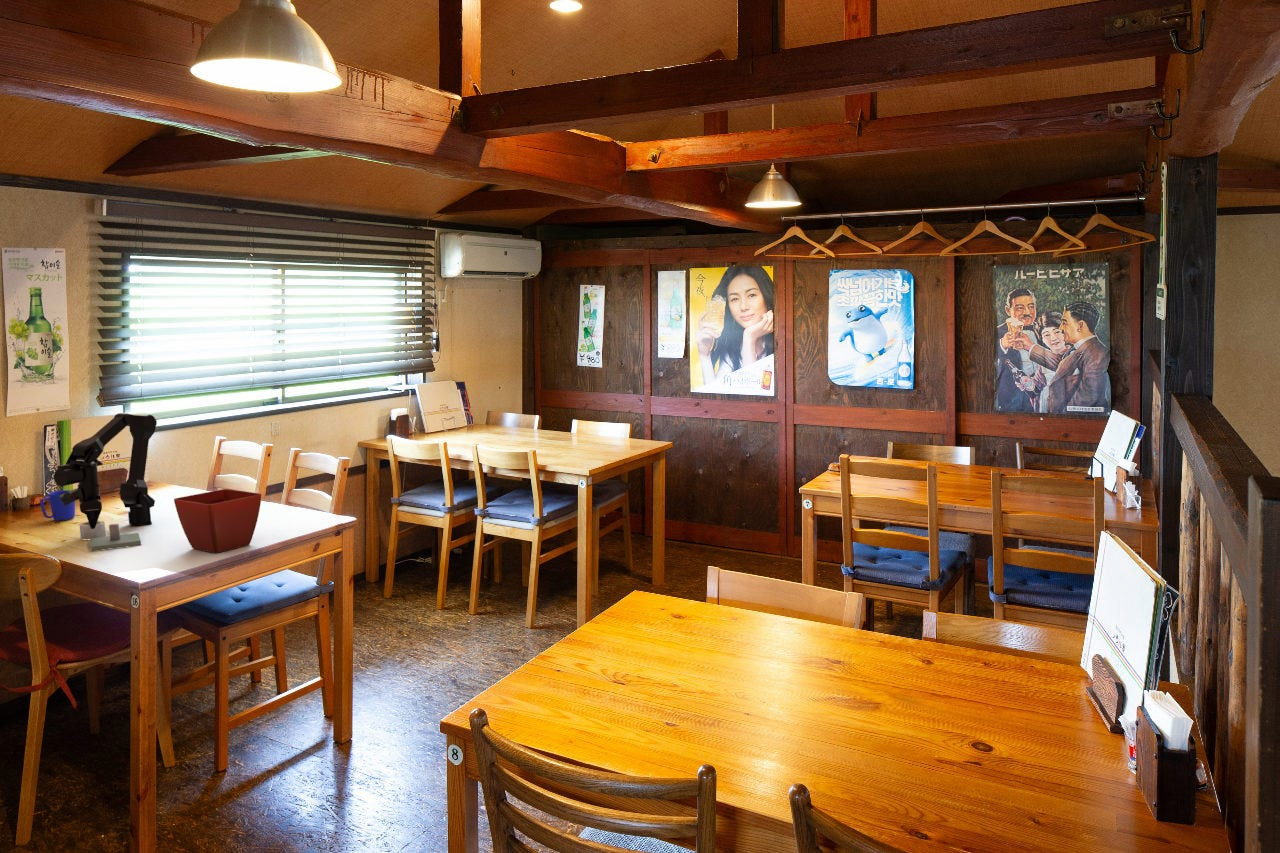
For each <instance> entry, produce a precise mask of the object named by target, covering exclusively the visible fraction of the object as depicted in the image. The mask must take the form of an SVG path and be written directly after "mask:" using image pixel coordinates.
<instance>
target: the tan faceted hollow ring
mask: <svg viewBox="0 0 1280 853" xmlns="http://www.w3.org/2000/svg"><path fill="white" fill-rule="evenodd" d="M105 525H106V524H105V520H98V521H97V524H96V526H95V529H91V527H90V524H89V522H88V521H84V522H83V521H82V522H81V523H79V533H80V540H81V539H92V538H100V537H105V536H106V526H105ZM106 537H107V536H106Z"/></svg>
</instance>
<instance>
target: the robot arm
mask: <svg viewBox="0 0 1280 853" xmlns="http://www.w3.org/2000/svg"><path fill="white" fill-rule="evenodd" d="M157 424H158V423H157V419H156V418H155V416H153V415H152V414H137V413H136V414H130V413H126V412H124V413H122V412H120V413H116V414H115V415H114V416H113V417H112V419H111V420H110V421H109V422H107V423H106V424H104V425H103V427H101V429H99V430H98V431H97V432H96V433H95V434H93V435H92V436H90V437H88V438H85V439H83V440H81V441H78V443H75V444H74V445H73V447H72V448H71V449H72V451H71V452H70V455H69V456H68V458H67V459H66V462H65V464H61V465H60V464H59V465H57V469H56V470H55V472H54V475H53V480H54V482H55V484H56V485H57V486H59V487H65V486H70V485H71V486H72V485H74V484H77V488H74V489H72V490H71V489H70V490H71V491H68V492H66V493H64V494H62V495H60V499H61V501H62V503H63V504H64V506H65V505H68V504H69V503H71V502H73V501H75V502H76V501H78V502H79V511H80V512H81V513H82V514H84V515H85V516H86V518H87V522H89V524H90V527H91V529H95V526H96V524H97V521H99V518H100V515H101V512H102V510H103V504H102V500H101V493H100V484H99V474H98V467H99V466H103V462H101V461H100V460H98V458H99V457H100V456H101V455H102V454H103V453H104V450H105V446H107V444H109V442H110V441H112V440H113V439H114V438H115V437H116V436H117V435H119V433H121V432H122V431H123V430H124V429H126V427H128V428H129V432H130V434H131V437H132V444H131V445H132V446H131V447H132V448H131V454H130V461H129V462H130V464H129V470H128V471H129V472H128V476H127V477H128V478H127V479H126V481H125V482H121V483H120V486H119V488H120V491H119V493H118V495H119V496H120V497H119V498H120V501H121V502H122V503H123V506H124V508H128V509H129V511H127V515H128V516H127V517H128V524H129V525H130V527H137V526H146V525H152V524H153V522H152V518H151V517H152V516H151V508H153V507H155V504H156V503H155V502H156V500H155V499H154V498H153V497H152V496H151V495H149V489H148V488H149V487H148V485H147V484H146V481H145V475H146V467H147V466H146V465H147V459H148V450H149V443H150V439H151V437H153V435H154V434H155V432H156V428H157Z"/></svg>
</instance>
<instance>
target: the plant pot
mask: <svg viewBox="0 0 1280 853" xmlns="http://www.w3.org/2000/svg"><path fill="white" fill-rule="evenodd" d="M173 502H174V506H175V509H176V512H177V517H178V518H179V522H180V525H181V527H182V530H183V532H184V535H185V537H186V539H187V541H188V543H189V545H190V546H191V548H192V549H194V550H199V551H203V552H208V553H212V554H217V553H218V554H219V553H223V552H226V551H230V550H231V551H232V550H234V549H239V548H242V546H243V547H247V546H249V545H250V544H251V542H252V539H253V536H254V533H255V530H256V526H257V523H258V519H259V514H260V509H261V502H262V493H257V492H252V491H245V490H238V489H237V490H236V489H230V488H225V489H219V490H218V489H217V490H211V491H207V492H202V493H197V494H191V495H186V496H180V497H175V498H173ZM246 545H247V546H246Z"/></svg>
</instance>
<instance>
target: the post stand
mask: <svg viewBox="0 0 1280 853" xmlns="http://www.w3.org/2000/svg"><path fill="white" fill-rule="evenodd" d="M108 529H109V536H106V537H100V538H92V539H90V540H89V542H90V543H89V544H90V551H91V552H95V551H94V550H99V551H103V550H102V549H106V550H109V549H108V548H114V549H118V548H117V547H122V548H127V547H126V546H130V547H135V545H137V546H142V541H141V538H140V535H139V534H140V533H139V532H135V533H128V534H127V533H126V534H120V533H121V532H120V524H119V523H111V524H109V525H108Z"/></svg>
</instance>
